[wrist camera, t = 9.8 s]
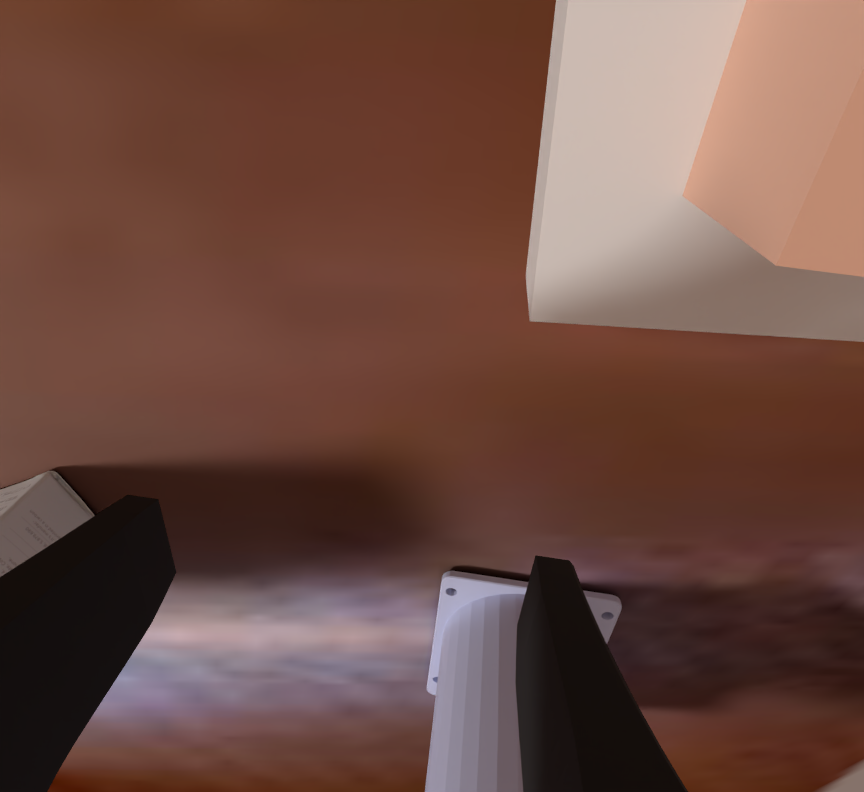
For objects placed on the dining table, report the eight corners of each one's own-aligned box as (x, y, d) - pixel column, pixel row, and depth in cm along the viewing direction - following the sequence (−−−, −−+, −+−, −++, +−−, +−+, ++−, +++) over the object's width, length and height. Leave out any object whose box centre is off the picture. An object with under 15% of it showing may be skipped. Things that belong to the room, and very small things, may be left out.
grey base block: (853, 288, 17) (941, 346, 13) (525, 271, 18) (529, 321, 14) (1054, -164, 11) (1285, -260, 8) (572, -156, 12) (596, -239, 9)
